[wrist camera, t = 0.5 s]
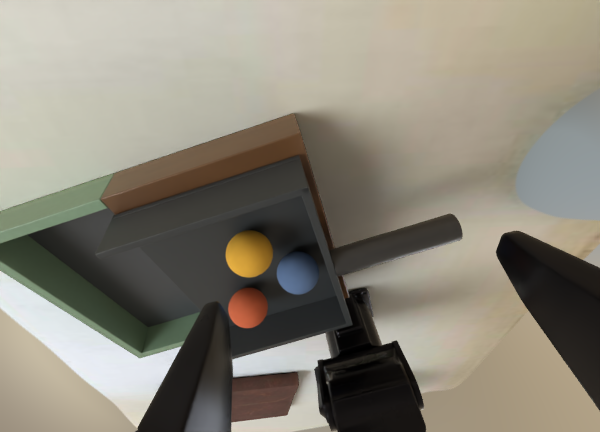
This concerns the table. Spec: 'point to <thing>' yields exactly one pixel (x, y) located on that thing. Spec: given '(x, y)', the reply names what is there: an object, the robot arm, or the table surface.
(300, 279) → the slate-blue ball
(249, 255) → the mustard ball
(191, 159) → the stand
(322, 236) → the pan
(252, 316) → the terracotta ball
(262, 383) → the notebook
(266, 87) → the table surface
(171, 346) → the bin
